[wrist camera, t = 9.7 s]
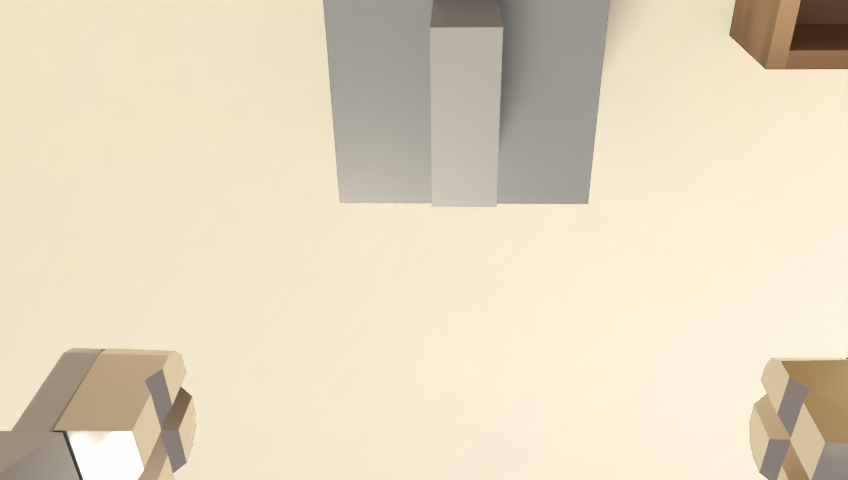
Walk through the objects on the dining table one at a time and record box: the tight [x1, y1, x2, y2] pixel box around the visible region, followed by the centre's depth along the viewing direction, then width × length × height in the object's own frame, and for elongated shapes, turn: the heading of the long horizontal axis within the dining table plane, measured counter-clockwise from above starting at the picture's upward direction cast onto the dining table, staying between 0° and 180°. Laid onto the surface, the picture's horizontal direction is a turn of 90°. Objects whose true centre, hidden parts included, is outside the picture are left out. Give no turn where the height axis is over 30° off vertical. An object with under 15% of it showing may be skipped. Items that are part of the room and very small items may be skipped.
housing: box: [323, 0, 609, 207], centre depth 24 cm, size 8×8×9 cm
